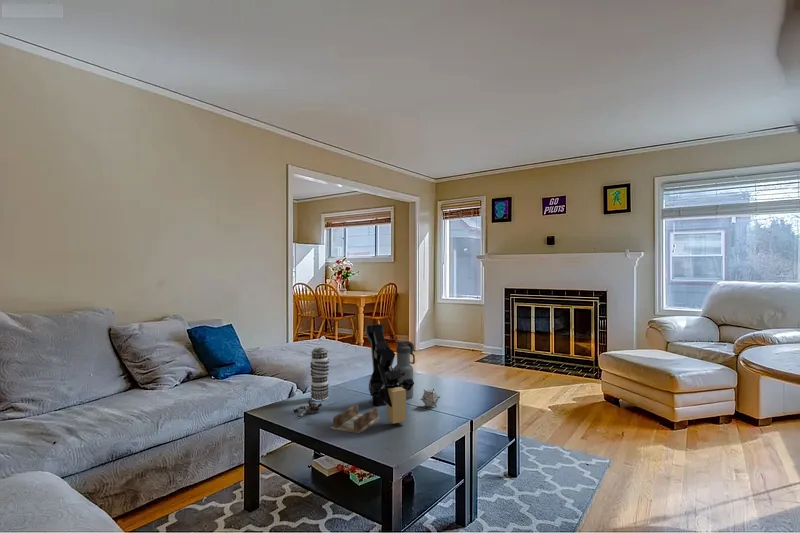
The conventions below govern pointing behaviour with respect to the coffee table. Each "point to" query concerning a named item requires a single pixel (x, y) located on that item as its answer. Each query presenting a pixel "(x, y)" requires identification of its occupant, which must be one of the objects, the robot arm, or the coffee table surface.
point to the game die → (430, 398)
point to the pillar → (397, 405)
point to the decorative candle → (319, 374)
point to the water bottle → (405, 362)
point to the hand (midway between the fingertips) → (398, 405)
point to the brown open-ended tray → (355, 420)
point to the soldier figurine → (309, 408)
